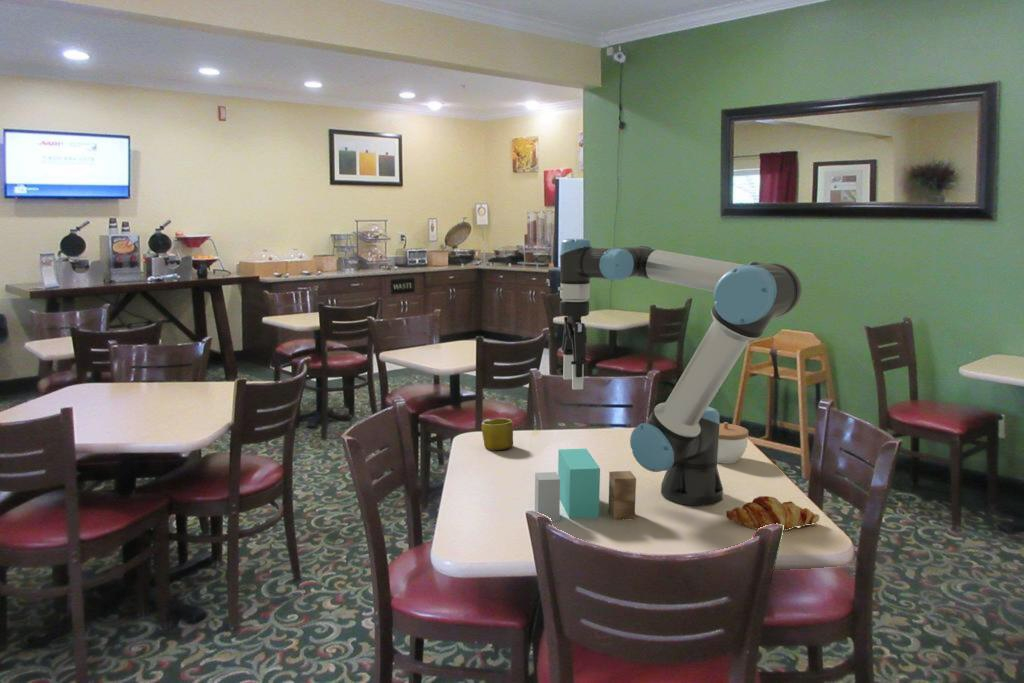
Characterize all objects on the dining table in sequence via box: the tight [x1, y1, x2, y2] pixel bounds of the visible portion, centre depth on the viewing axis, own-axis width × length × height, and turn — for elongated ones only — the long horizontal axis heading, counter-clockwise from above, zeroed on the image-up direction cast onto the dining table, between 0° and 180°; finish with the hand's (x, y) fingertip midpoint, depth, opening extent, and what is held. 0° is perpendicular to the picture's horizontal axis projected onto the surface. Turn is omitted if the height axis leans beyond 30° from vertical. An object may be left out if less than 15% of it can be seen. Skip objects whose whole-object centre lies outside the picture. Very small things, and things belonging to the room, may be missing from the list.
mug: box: [481, 418, 514, 451], centre depth 232 cm, size 12×10×10 cm
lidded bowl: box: [717, 421, 750, 465], centre depth 220 cm, size 13×13×11 cm
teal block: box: [557, 448, 601, 520], centre depth 185 cm, size 7×15×12 cm, turn 7°
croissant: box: [725, 495, 820, 531], centre depth 176 cm, size 21×10×8 cm, turn 91°
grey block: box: [534, 471, 561, 522], centre depth 178 cm, size 5×5×10 cm
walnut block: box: [607, 470, 637, 521], centre depth 180 cm, size 5×5×10 cm
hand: (572, 384), depth 200 cm, fingers open, 11 cm apart
